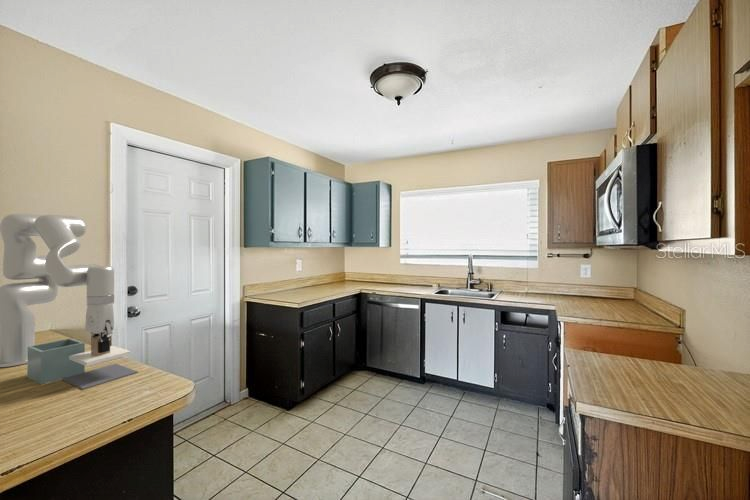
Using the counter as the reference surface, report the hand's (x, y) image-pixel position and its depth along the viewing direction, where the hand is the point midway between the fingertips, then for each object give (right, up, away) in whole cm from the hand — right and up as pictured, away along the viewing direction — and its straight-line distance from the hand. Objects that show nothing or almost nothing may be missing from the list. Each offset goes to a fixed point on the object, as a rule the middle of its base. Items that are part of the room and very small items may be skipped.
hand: (100, 350), depth 114 cm
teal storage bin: (-17, -9, +1) cm, 19 cm away
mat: (0, -9, 0) cm, 9 cm away
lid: (0, -2, 0) cm, 2 cm away
